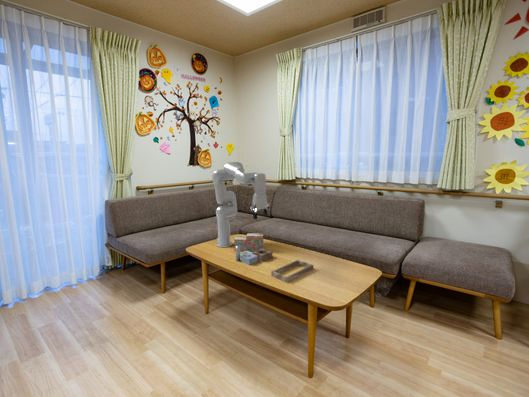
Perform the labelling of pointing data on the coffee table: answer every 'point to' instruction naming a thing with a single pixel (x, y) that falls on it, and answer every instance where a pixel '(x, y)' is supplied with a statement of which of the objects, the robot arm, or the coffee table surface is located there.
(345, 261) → the coffee table surface
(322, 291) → the coffee table surface
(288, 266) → the rectangular wooden corral frame
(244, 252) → the tray
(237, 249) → the cylinder
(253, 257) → the block
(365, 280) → the coffee table surface
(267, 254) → the square-holed wooden block
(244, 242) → the stack of blocks
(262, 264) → the coffee table surface
